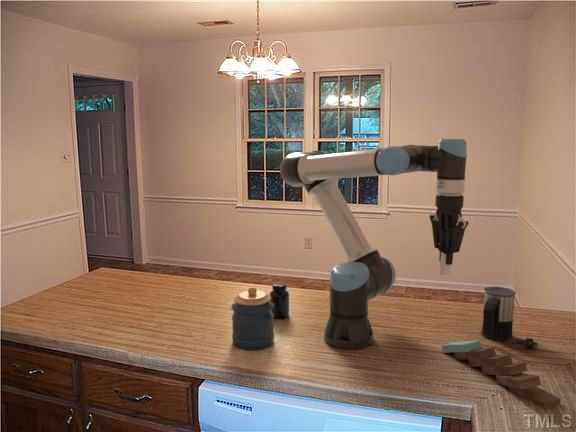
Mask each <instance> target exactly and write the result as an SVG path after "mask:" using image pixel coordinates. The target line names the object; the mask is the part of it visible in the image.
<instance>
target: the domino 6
mask: <svg viewBox="0 0 576 432" xmlns="http://www.w3.org/2000/svg"><path fill="white" fill-rule="evenodd" d="M508 391H511V392H513V393H514V394H515V395H518V396H520V397H522V398H523V399H526V400H527V401H529V402H531V403H533V404H534V405H535V406H538V407H540V408H542V409H544V410H548V409H551V408H553V407H555V406H558V405H560V404H561V397H559V396H556V395H555V394H553V393H551V392H549V391H547V390H545V389H542V388H540V386H535V387H530V388H526V389H522V390H521V389H518V388H514V387H510V386H508Z"/></svg>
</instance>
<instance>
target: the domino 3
mask: <svg viewBox="0 0 576 432" xmlns="http://www.w3.org/2000/svg"><path fill="white" fill-rule="evenodd" d="M467 360H468V363H469V367H472V368H473V367H478V368H479V367H480V368H481V367H499V366H502V365H506V364H509V363H514V362H513V358H512V354H496V355H493V356H490V357H487V358H484V359H467Z"/></svg>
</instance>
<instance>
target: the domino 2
mask: <svg viewBox="0 0 576 432" xmlns="http://www.w3.org/2000/svg"><path fill="white" fill-rule="evenodd" d="M453 355H454V358H455V360H468V359H484V358H487V357H490V356H493V355H497V353H496V349H495V346H492V347H491V346H490V347H489V346H487V347H486V346H485V347H482V348H479V349H476V350H472V351H469V352H453Z"/></svg>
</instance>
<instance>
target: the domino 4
mask: <svg viewBox="0 0 576 432" xmlns="http://www.w3.org/2000/svg"><path fill="white" fill-rule="evenodd" d="M480 368H481V372H482V375H489V376H490V375H491V376H492V375H493V376H496V375H516V374H519V373H526V372H528V368H527V363H526V362H513V363H509V364H506V365H502V366H499V367H480Z"/></svg>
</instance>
